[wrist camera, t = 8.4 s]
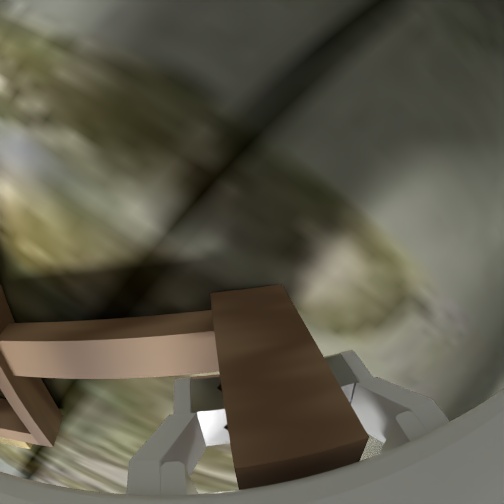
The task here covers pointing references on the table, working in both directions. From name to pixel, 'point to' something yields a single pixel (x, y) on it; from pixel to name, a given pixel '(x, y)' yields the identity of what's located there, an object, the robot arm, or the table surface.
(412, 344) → the table surface
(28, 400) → the wooden frame with handle
